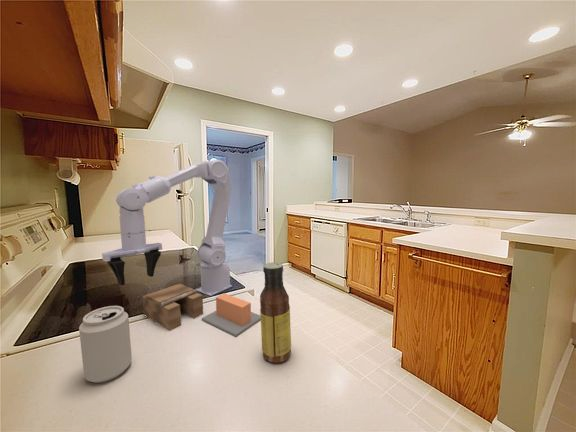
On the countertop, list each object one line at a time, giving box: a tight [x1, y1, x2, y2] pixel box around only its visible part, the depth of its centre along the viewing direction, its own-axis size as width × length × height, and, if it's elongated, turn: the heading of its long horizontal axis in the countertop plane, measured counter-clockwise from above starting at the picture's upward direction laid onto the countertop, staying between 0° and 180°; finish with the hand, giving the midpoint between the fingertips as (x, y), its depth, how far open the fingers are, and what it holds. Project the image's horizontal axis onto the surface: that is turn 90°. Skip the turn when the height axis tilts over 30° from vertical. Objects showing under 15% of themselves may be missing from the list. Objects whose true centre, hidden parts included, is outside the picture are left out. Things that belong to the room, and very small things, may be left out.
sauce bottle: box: [259, 261, 292, 364], centre depth 51 cm, size 7×6×20 cm
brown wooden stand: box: [142, 283, 204, 331], centre depth 68 cm, size 13×10×6 cm
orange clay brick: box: [215, 292, 252, 326], centre depth 66 cm, size 10×3×5 cm, turn 56°
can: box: [78, 305, 133, 384], centre depth 47 cm, size 8×8×12 cm
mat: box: [201, 310, 261, 338], centre depth 66 cm, size 10×13×1 cm
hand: (136, 279), depth 69 cm, fingers open, 7 cm apart
